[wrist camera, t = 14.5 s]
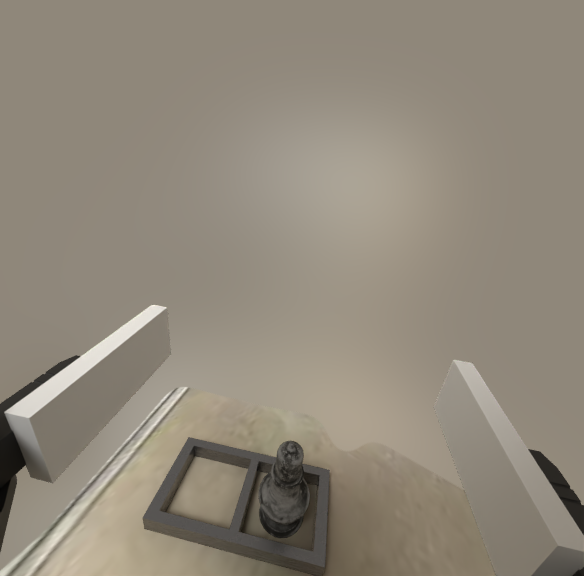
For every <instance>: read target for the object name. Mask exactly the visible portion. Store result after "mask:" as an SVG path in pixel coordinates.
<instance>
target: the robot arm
mask: <svg viewBox="0 0 584 576" xmlns="http://www.w3.org/2000/svg"><path fill="white" fill-rule="evenodd" d="M170 355H171V350H170V337H169V325H168V312H167V307H162V306H157V305H151V306H150V307H148V308H147V309H146V310H144V311H143V312H142V313H140V314H139V315H137V316H136V317H135V318H133V319H132V320H130V321H129V322H128V323H126V324H125V325H124V326H122V327H121V328H119V329H118V330H117V331H115V332H114V333H113V334H111V335H110V336H108V337H107V338H106V339H104V340H103V341H102V342H100V343H99V344H97V345H96V346H95V347H93V348H92V349H91V350H89V351H88V352H87V353H85V354H84V355H82V356H74V357H71V358H69V359H67V360H65V361H62V362H60V363H58V364H57V365H56V366H54V367H53V368H51V369H50V370H48V371H47V372H46V374H42V375H41V376H40V377H38V378H37V379H35V380H34V382H33V383H32V382H31V383H29V384H28V385H27V386H25V387H24V388H23V389H21V390H19V391H18V392H17V393H15V394H14V395H12V396H11V397H9V398H8V399H6V400H5V401H4V402H2V403H1V404H0V551H1V547H2V543H3V538H4V535H5V530H6V526H7V522H8V518H9V514H10V509H11V505H12V501H13V497H14V493H15V488H16V484H17V477H16V473H18V471H20V470H21V469H22V468H23V467H24V466H25V465H26V467H27V469H28V472H29V474H30V477H32V478H35V479H39V480H43V481H46V482H50V483H53V482H54V481H55V480H56V479H57V478H58V477H59V476H60V475H61V474H62V473H63V472H64V471H65V469H66V468H67V467H68V466H69V465H70V464H71V463H72V462H73V460H75V458H76V457H77V456H78V455H79V454H80V453H81V452H82V451H83V450H84V449H85V448H86V446H87V445H88V444H89V443H90V442H91V441H92V440H93V439H94V438H95V437H96V436H97V434H98V433H99V432H100V431H101V430H102V429H103V428H104V427H105V426H106V425H107V424H108V422H109V421H110V420H111V419H112V418H113V417H114V416H115V415H116V414H117V413H118V411H119V410H120V409H121V408H122V407H123V406H124V405H125V404H126V402H128V401H129V400H130V398H131V397H132V396H133V395H134V394H135V393H136V392H137V391H138V390H139V389H140V387H141V386H142V385H143V384H144V383H145V382H146V381H147V380H148V379H149V378H150V377H151V376H152V374H153V373H154V372H155V371H156V370H157V369H158V368H159V367H160V366H161V365H162V363H163V362H164V361H165V360H166V359H167V358H168V357H169V356H170ZM434 410H435V412H436V415H437V418H438V420H439V423H440V426H441V428H442V431H443V434H444V437H445V439H446V442H447V445H448V447H449V450H450V453H451V456H452V458H453V461H454V464H455V466H456V469H457V472H458V474H459V477H460V480H461V482H462V485H463V488H464V491H465V493H466V496H467V499H468V501H469V504H470V507H471V510H472V512H473V515H474V518H475V520H476V523H477V526H478V528H479V531H480V534H481V537H482V539H483V542H484V545H485V547H486V550H487V553H488V555H489V558H490V561H491V564H492V566H493V569H494V572H495V574H496V576H584V505H581V503H580V500H579V498H578V497H577V495H576V494H575V493H574V491H573V490H571V489H570V486H569V484H568V483H567V481H566V480H565V478H564V477H563V476H562V474H561V473H560V471H559V470H558V468H557V467H556V466H555V465H553V464H552V463H551V462H550V461H549V460H548V459H547V458H546V457H545V456H544V455H543V454H542V453H541V452H539V451H534V450H530V449H527V447H526V446H525V444H524V442H523V441H522V439H521V438H520V436H519V435H518V433H517V432H516V430H515V429H514V427H513V425H512V424H511V422H510V421H509V419H508V418H507V416H506V415H505V413H504V412H503V410H502V409H501V407H500V405H499V404H498V402H497V401H496V399H495V398H494V396H493V395H492V393H491V391H490V390H489V388H488V387H487V385H486V384H485V383H484V381H483V379H482V378H481V376H480V374H479V373H478V372H477V370H476V368H475V367H474V365H473V364H472V363H469V362H464V361H458V360H453V362H452V364H451V367H450V369H449V371H448V374H447V376H446V379H445V381H444V383H443V386H442V388H441V391H440V393H439V395H438V398H437V400H436V403H435V405H434Z"/></svg>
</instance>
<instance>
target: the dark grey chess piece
mask: <svg viewBox="0 0 584 576" xmlns="http://www.w3.org/2000/svg"><path fill="white" fill-rule="evenodd" d="M303 457H304V455H303V449H302V447H301V446H300V445H299V444H298V443H296V442H294V441H287V442H284V443H282V444H281V445H280V447H279V449H278V451H277V458H276V461H275V462H274V464H273V466H272V469H271V472H270V473H268V474H267V475H266V476H265V477H264V478H263V480H262V482H261V484H260V488H259V502H260V509H259V516H260V520H261V524H262V525H263V527H264V529H265V530H266V531H267V532H268V533H269V534H270V535H272V536H274V537H277V538H287V537H289V536H292V535H293V534H294V533H296V532H297V531H298V529H299V528H300V526H301V524H302V521H303V514H304V513H305V512H306V510H307V508H308V505H309V500H310V493H309V488H308V485H307V483H306V481H305V480H304V478H303V477H304V469H303V466H302V463H303Z"/></svg>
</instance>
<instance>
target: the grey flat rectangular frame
mask: <svg viewBox="0 0 584 576" xmlns="http://www.w3.org/2000/svg"><path fill="white" fill-rule="evenodd" d="M194 456H198V457H202V458H206V459H210V460H214V461H219V462H223V463H227V464H231V465H235V466H239V467H244V468H248V472H247V475H246V478H245V481H244V485H243V488H242V491H241V494H240V497H239V501H238V504H237V507H236V510H235V513H234V516H233V520H232V523H231V526H230V529H226V528H222V527H219V526H215V525H211V524H207V523H204V522H200V521H196V520H192V519H188V518H185V517H181V516H177V515H173V514H170V513H166V510H167V508H168V506H169V504H170V502H171V500H172V498H173V496H174V494H175V492H176V490H177V488H178V486H179V484H180V483H181V481H182V479H183V477H184V475H185V473H186V471H187V469H188V467H189V465H190V463H191V461H192V459H193V457H194ZM275 461H276V457H271V456H267V455H263V454H259V453H254V452H250V451H246V450H241V449H237V448H233V447H229V446H224V445H220V444H216V443H211V442H207V441H203V440H198V439H194V438H190V437H189V438H188V439H187V441H186V443H185V445H184V446H183V448H182V450H181V452H180V453H179V455H178V457H177V459H176V460H175V462H174V464H173V466H172V467H171V469H170V471H169V473H168V474H167V476H166V478H165V480H164V481H163V483H162V485H161V487H160V488H159V490H158V492H157V494H156V495H155V497H154V499H153V501H152V502H151V504H150V506H149V508H148V509H147V511H146V513H145V515H144V516H143V523H144V529H147V530H151V531H155V532H158V533H162V534H165V535H169V536H173V537H176V538H180V539H184V540H187V541H191V542H195V543H198V544H202V545H206V546H209V547H213V548H217V549H220V550H224V551H228V552H231V553H235V554H238V555H242V556H246V557H249V558H253V559H257V560H260V561H264V562H268V563H271V564H275V565H279V566H282V567H286V568H290V569H293V570H297V571H301V572H304V573H308V574H311V575H315V576H323V572H324V569H325V558H326V537H327V516H328V494H329V473H330V470H327V469H323V468H319V467H314V466H310V465H306V464H302V466H303V469H304V477H303V478H304V480H305V481H306V483H310V484H315V485H317V495H316V507H315V519H314V531H313V543H312V551H309V550H305V549H302V548H298V547H294V546H290V545H287V544H283V543H279V542H275V541H271V540H268V539H264V538H260V537H256V536H253V535H249V534H245V533H241V530H242V526H243V522H244V519H245V515H246V512H247V508H248V505H249V501H250V498H251V494H252V490H253V487H254V483H255V480H256V476H257V473H258V471H260V472H265V473H270V472H271V469H272V466H273V464H274V462H275Z"/></svg>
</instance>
